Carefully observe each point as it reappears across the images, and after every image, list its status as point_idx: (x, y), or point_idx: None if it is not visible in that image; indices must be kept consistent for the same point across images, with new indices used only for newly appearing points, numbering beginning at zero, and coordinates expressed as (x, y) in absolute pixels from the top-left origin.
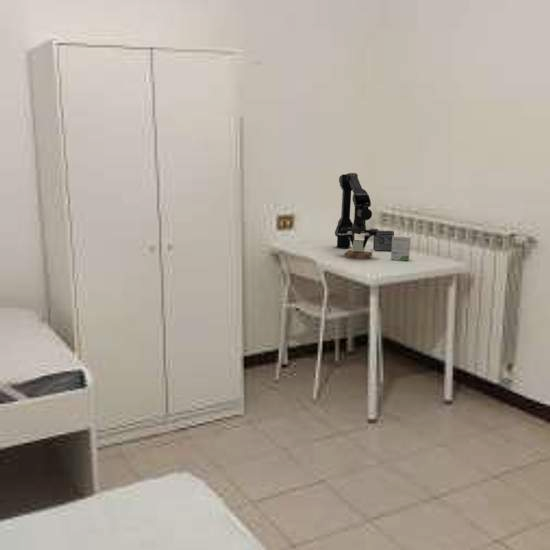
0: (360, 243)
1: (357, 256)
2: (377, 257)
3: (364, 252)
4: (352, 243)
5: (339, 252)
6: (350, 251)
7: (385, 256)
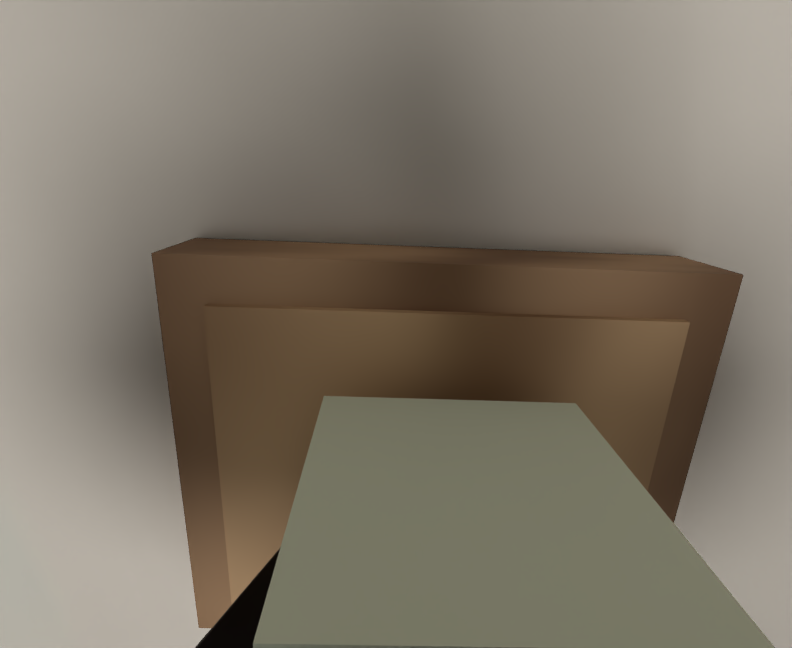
0: (378, 569)
1: (417, 252)
2: (105, 486)
3: None
4: None
5: None
6: None
7: (24, 599)
